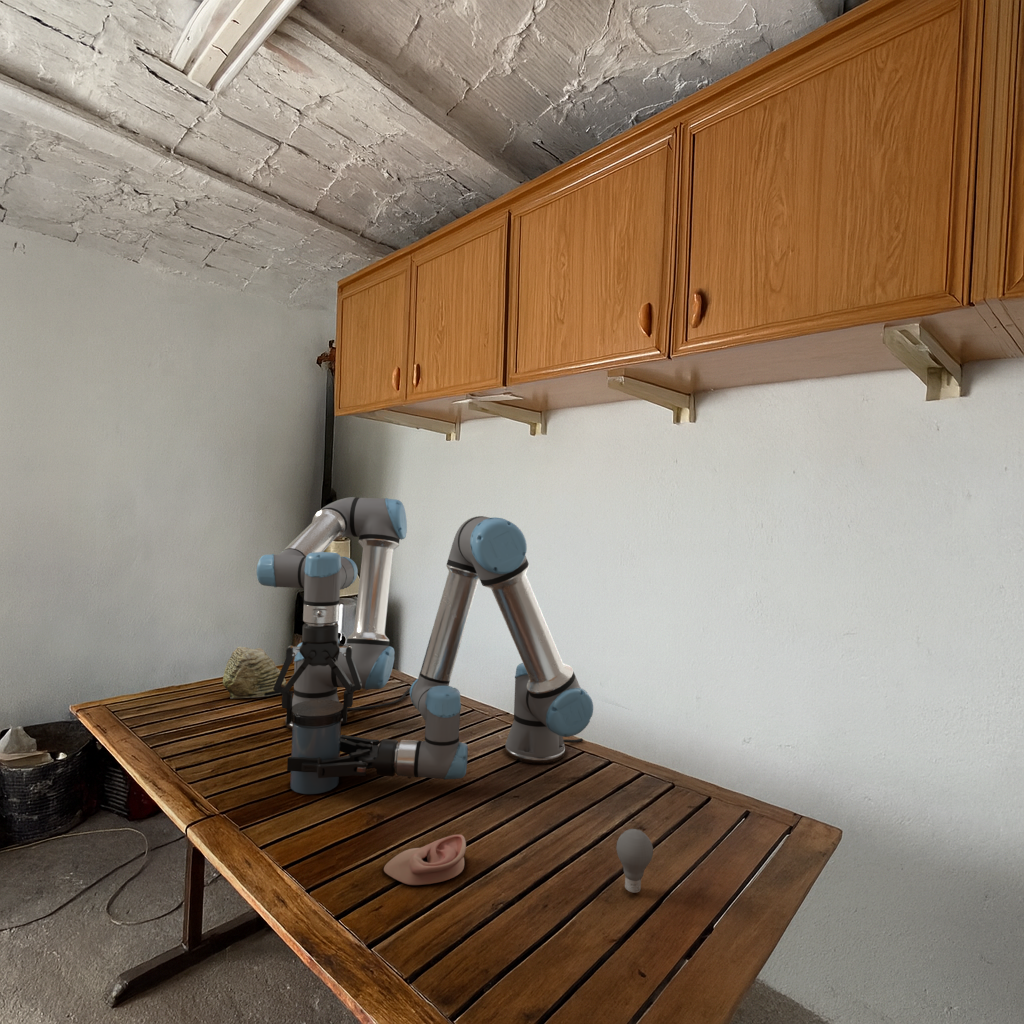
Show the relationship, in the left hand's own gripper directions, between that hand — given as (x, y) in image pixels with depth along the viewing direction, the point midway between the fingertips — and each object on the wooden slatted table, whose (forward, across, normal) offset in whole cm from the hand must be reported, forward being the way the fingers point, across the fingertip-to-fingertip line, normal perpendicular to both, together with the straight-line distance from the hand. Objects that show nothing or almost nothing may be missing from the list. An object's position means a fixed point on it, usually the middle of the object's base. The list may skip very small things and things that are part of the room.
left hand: (317, 721), depth 139 cm
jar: (+14, 0, 0) cm, 14 cm away
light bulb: (+14, +56, -46) cm, 74 cm away
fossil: (+14, -25, +64) cm, 70 cm away
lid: (-3, 0, 0) cm, 3 cm away
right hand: (+7, -4, +1) cm, 8 cm away
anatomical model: (+14, +22, -35) cm, 44 cm away
